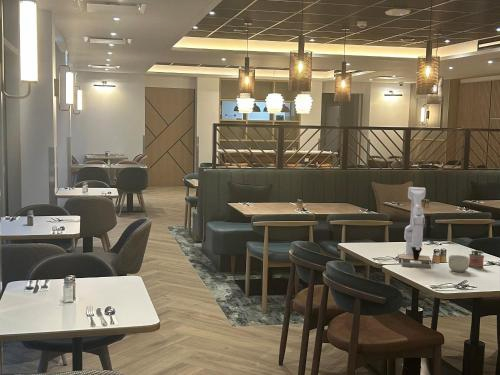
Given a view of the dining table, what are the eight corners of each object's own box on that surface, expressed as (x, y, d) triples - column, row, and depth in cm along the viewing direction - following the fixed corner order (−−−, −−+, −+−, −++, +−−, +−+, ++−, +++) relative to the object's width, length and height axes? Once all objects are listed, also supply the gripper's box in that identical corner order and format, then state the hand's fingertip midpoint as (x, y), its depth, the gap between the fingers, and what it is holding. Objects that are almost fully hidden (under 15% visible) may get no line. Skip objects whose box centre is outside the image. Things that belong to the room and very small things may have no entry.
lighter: (467, 267, 346) (469, 250, 345) (468, 266, 349) (470, 249, 348) (482, 269, 342) (484, 251, 341) (483, 268, 345) (484, 250, 344)
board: (397, 257, 364) (398, 253, 364) (428, 260, 361) (428, 256, 361) (399, 262, 352) (399, 258, 352) (430, 264, 349) (431, 260, 348)
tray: (400, 262, 352) (401, 259, 351) (429, 264, 349) (429, 261, 348) (401, 266, 342) (402, 262, 342) (431, 268, 339) (431, 264, 339)
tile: (410, 262, 342) (410, 265, 342) (421, 263, 341) (421, 266, 341) (410, 260, 347) (409, 263, 347) (420, 261, 346) (420, 264, 346)
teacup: (470, 273, 330) (472, 259, 329) (451, 272, 330) (452, 258, 329) (462, 267, 344) (463, 254, 343) (443, 267, 344) (444, 253, 343)
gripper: (409, 233, 353) (407, 256, 354) (411, 238, 338) (409, 262, 340) (421, 234, 351) (420, 257, 353) (424, 239, 337) (422, 262, 338)
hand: (415, 259), depth 346 cm, fingers closed
